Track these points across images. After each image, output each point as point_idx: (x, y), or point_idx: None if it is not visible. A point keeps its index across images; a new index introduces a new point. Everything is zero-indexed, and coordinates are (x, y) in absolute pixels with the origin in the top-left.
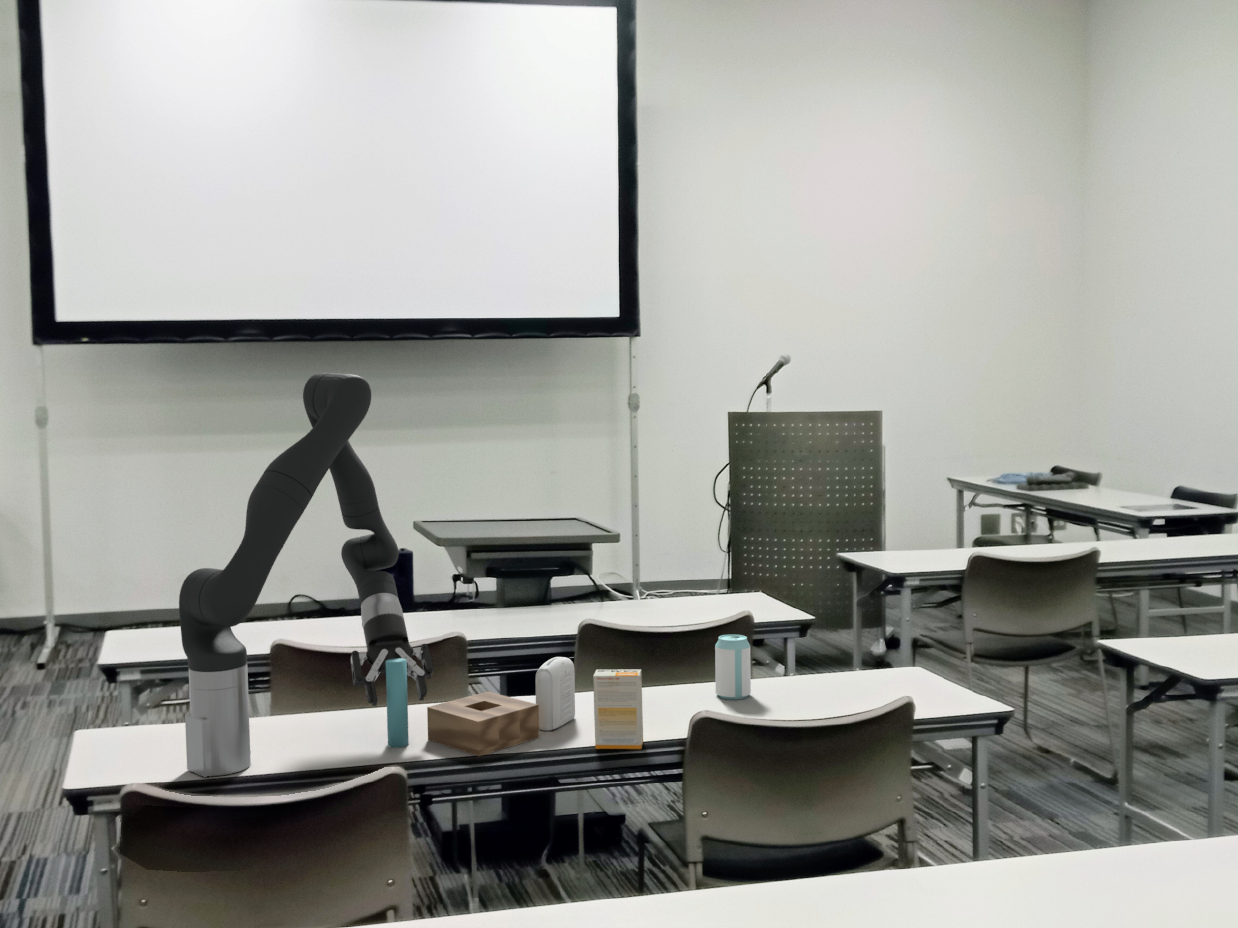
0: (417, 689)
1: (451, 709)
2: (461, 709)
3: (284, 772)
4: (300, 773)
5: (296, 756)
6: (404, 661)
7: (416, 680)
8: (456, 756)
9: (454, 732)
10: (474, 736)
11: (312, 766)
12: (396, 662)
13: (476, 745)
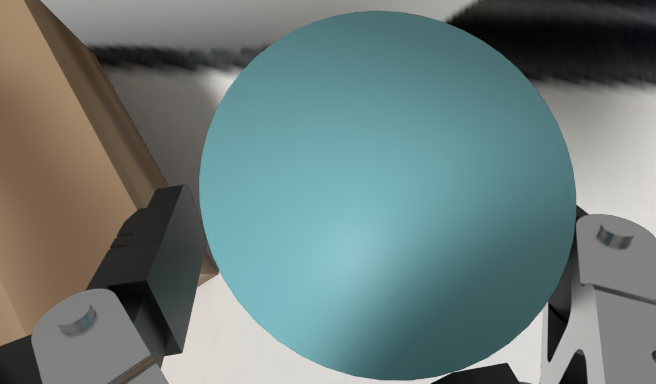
0: (189, 282)
1: (60, 189)
2: (12, 173)
3: (645, 85)
4: (600, 65)
5: (644, 222)
6: (251, 67)
7: (166, 318)
8: (160, 76)
9: (119, 128)
10: (63, 32)
11: (578, 112)
12: (387, 39)
13: (79, 43)
